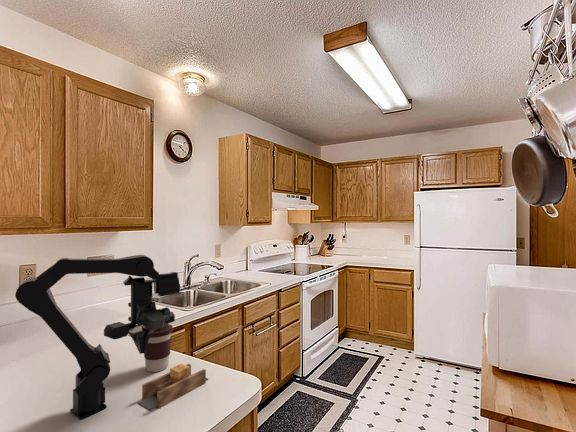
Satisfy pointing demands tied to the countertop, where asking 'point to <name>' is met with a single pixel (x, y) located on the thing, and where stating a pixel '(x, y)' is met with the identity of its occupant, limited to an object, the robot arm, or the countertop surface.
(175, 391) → the trough
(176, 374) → the block
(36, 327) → the countertop surface
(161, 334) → the coffee cup
